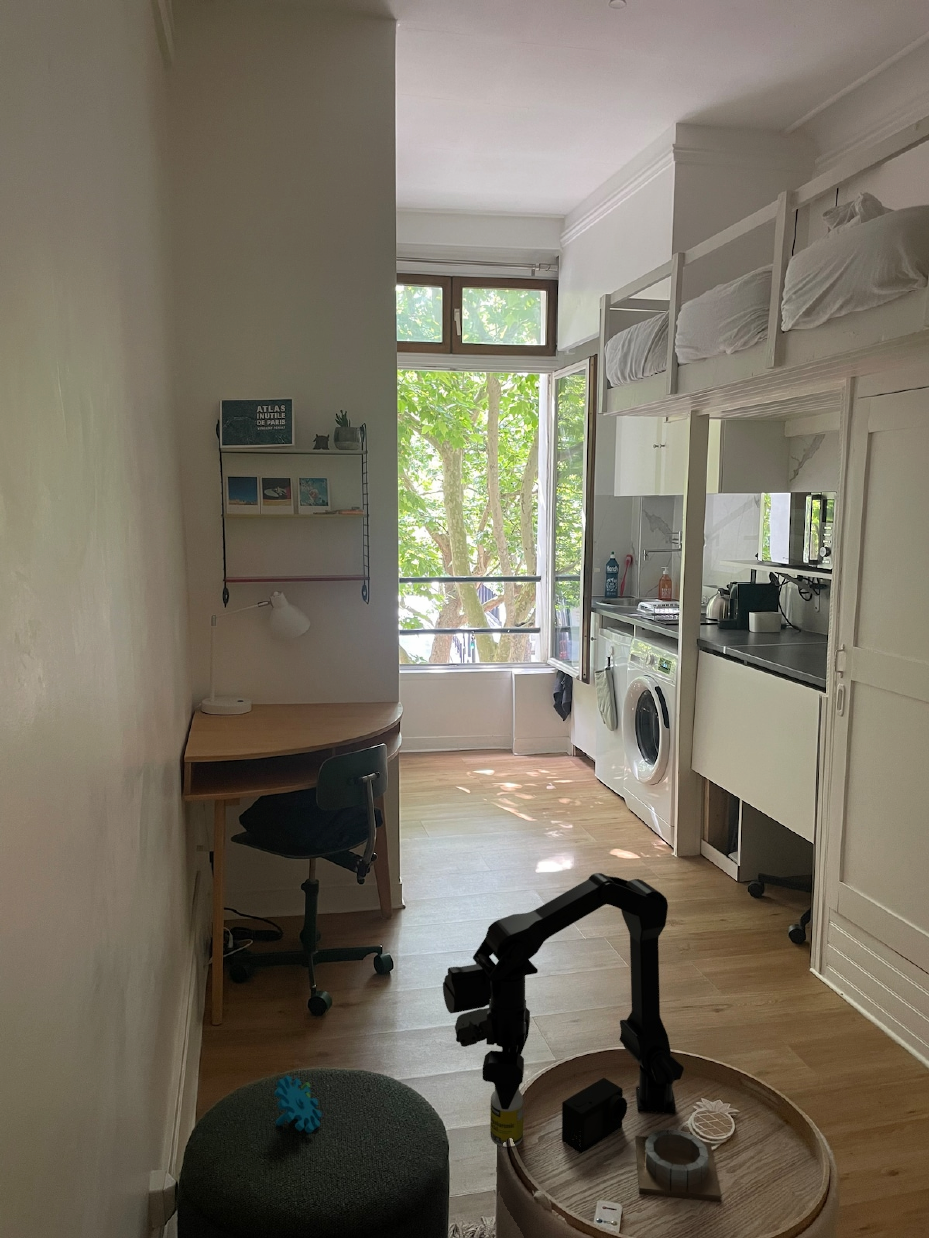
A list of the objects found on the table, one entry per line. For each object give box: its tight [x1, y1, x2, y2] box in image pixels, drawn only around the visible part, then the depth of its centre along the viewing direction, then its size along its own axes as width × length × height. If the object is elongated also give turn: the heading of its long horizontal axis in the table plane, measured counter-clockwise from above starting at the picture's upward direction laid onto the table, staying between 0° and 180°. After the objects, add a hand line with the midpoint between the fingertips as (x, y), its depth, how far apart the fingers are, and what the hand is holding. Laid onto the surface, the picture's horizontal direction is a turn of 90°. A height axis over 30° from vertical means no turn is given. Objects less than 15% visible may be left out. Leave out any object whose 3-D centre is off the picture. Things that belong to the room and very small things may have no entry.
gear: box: [274, 1075, 322, 1134], centre depth 153 cm, size 11×6×10 cm
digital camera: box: [561, 1077, 628, 1155], centre depth 149 cm, size 10×5×7 cm, turn 130°
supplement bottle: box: [489, 1086, 524, 1147], centre depth 148 cm, size 5×5×10 cm
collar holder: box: [634, 1128, 722, 1203], centre depth 141 cm, size 12×12×4 cm
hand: (507, 1090), depth 148 cm, fingers open, 9 cm apart
